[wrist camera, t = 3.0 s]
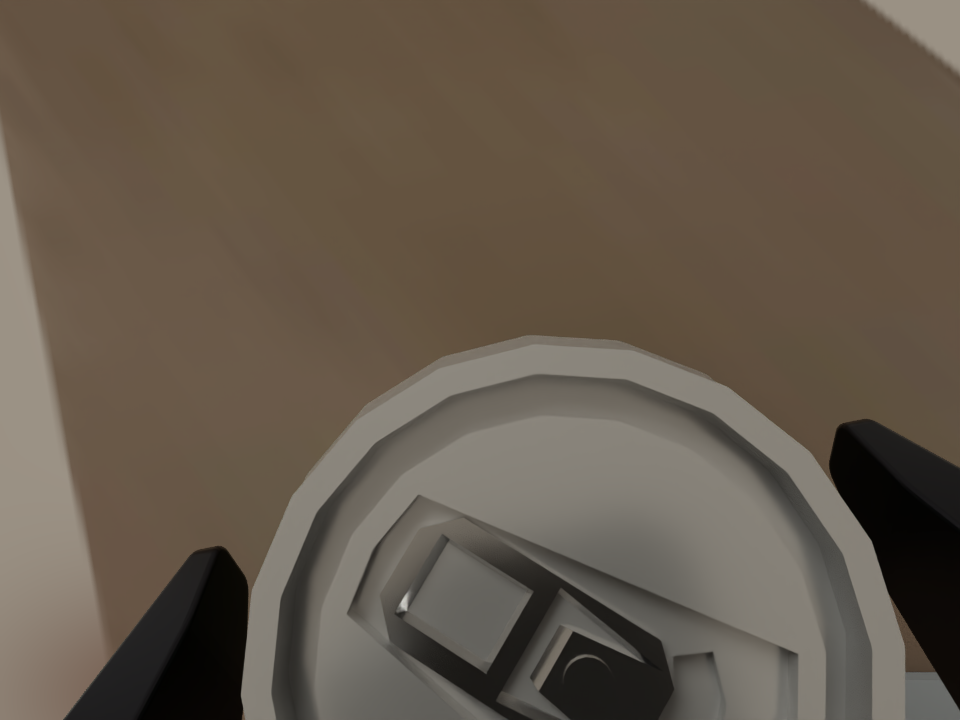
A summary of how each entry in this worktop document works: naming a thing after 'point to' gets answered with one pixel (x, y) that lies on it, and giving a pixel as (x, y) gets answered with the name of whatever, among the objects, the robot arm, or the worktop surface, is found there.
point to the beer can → (569, 556)
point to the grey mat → (928, 698)
